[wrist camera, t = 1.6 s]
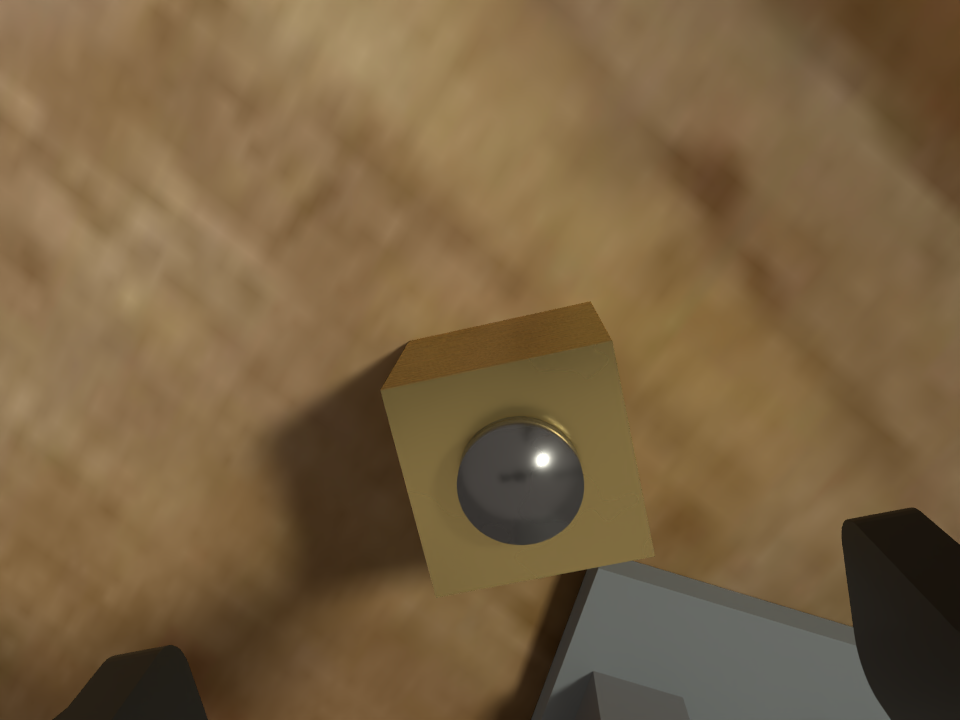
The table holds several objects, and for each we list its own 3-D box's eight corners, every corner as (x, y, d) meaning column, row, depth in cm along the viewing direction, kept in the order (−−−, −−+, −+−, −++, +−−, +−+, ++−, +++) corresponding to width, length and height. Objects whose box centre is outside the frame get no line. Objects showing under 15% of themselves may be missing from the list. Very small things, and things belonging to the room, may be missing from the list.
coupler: (590, 300, 20) (615, 347, 15) (625, 472, 21) (660, 570, 16) (409, 340, 20) (375, 398, 15) (452, 507, 21) (433, 613, 16)
